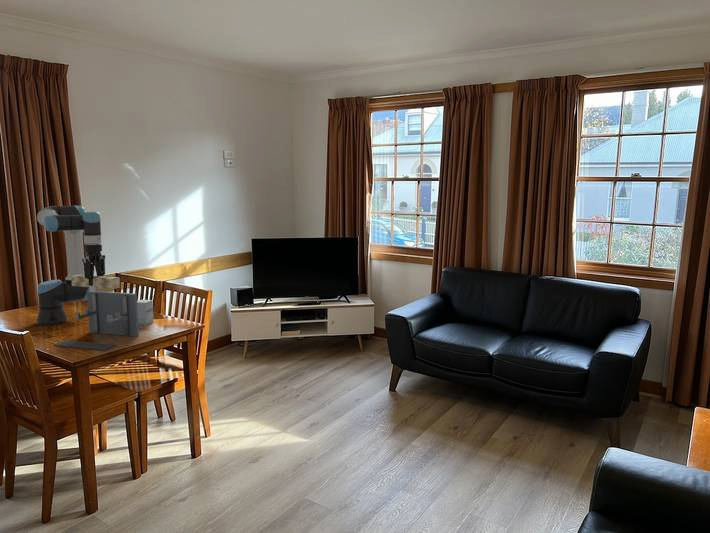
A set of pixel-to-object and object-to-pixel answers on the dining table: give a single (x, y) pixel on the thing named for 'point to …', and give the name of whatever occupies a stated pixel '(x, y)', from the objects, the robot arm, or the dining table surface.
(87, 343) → the rubber mat
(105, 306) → the wall board
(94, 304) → the hook standards
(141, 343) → the dining table surface
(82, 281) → the birch rail
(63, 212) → the robot arm
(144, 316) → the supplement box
